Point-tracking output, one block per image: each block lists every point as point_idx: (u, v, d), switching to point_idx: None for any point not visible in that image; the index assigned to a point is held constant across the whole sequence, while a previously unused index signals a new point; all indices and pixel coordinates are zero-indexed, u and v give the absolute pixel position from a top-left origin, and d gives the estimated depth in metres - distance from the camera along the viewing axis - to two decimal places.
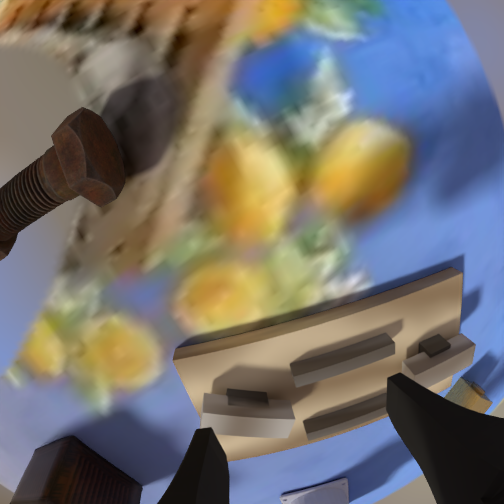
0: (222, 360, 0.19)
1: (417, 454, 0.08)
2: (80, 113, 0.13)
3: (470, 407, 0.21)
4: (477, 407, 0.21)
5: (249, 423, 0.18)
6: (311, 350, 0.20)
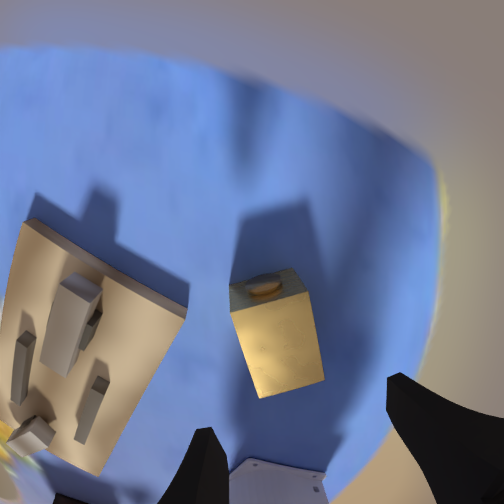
0: (3, 405, 0.19)
1: (417, 454, 0.08)
2: None
3: (237, 334, 0.16)
4: (259, 325, 0.15)
5: (22, 442, 0.17)
6: None
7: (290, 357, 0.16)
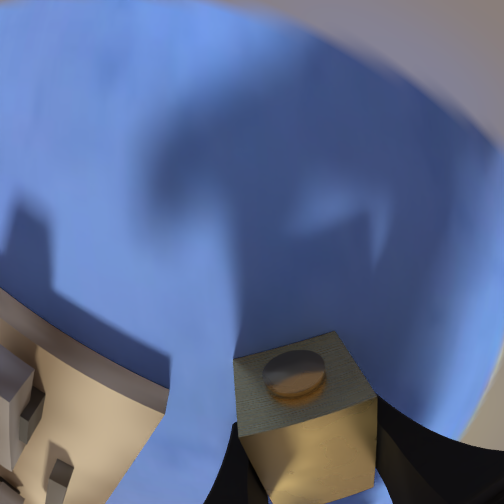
0: None
1: (381, 470, 0.08)
2: None
3: None
4: (289, 449, 0.08)
5: None
6: None
7: (331, 475, 0.08)
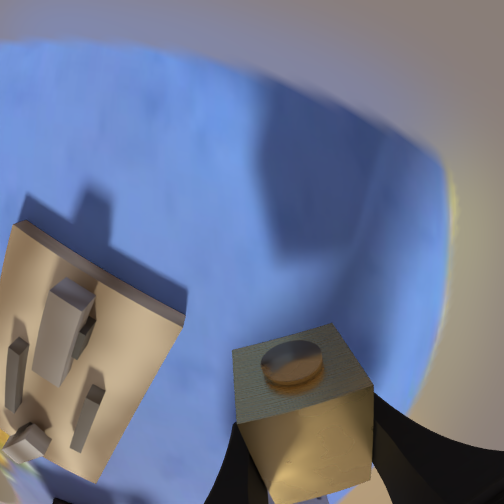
0: None
1: (380, 470, 0.08)
2: None
3: None
4: (286, 437, 0.08)
5: (17, 449, 0.15)
6: None
7: (329, 466, 0.09)
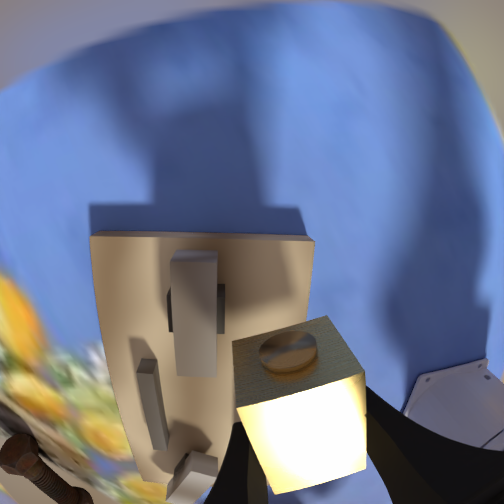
0: (145, 463, 0.20)
1: (381, 470, 0.08)
2: None
3: None
4: (282, 422, 0.09)
5: (185, 489, 0.17)
6: (145, 419, 0.18)
7: (324, 452, 0.09)
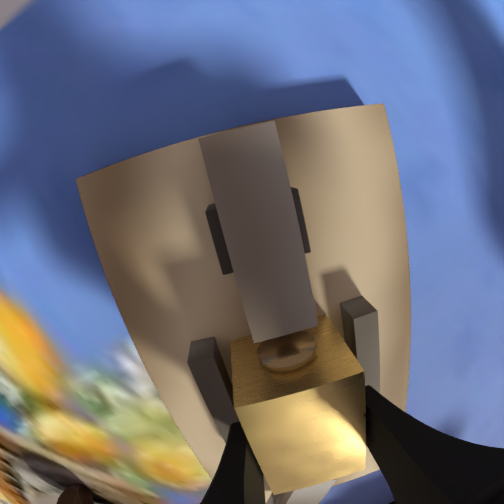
0: None
1: (384, 469, 0.08)
2: None
3: None
4: (281, 422, 0.09)
5: None
6: (217, 431, 0.13)
7: (323, 453, 0.09)
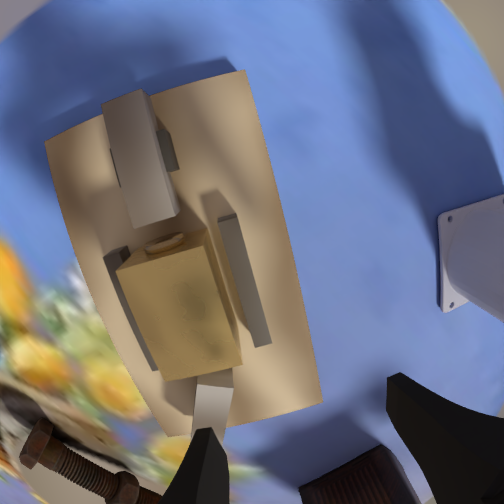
0: (159, 407, 0.19)
1: (417, 454, 0.08)
2: (20, 454, 0.17)
3: (128, 299, 0.13)
4: (149, 288, 0.13)
5: (203, 421, 0.16)
6: None
7: (192, 331, 0.13)
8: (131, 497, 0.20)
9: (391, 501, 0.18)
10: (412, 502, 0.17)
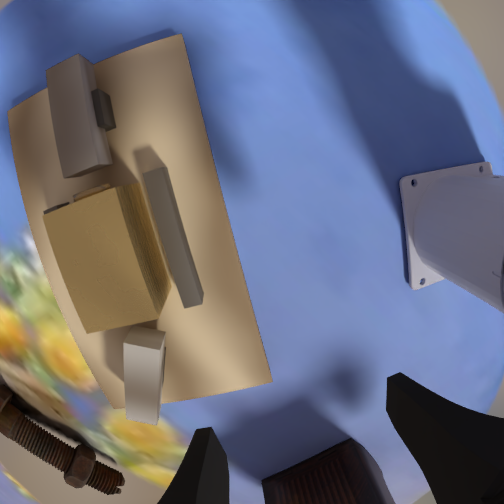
0: (102, 375, 0.18)
1: (417, 454, 0.08)
2: None
3: (52, 244, 0.12)
4: (68, 232, 0.12)
5: (134, 386, 0.15)
6: None
7: (107, 277, 0.13)
8: (85, 471, 0.19)
9: (356, 501, 0.17)
10: None
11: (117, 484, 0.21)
